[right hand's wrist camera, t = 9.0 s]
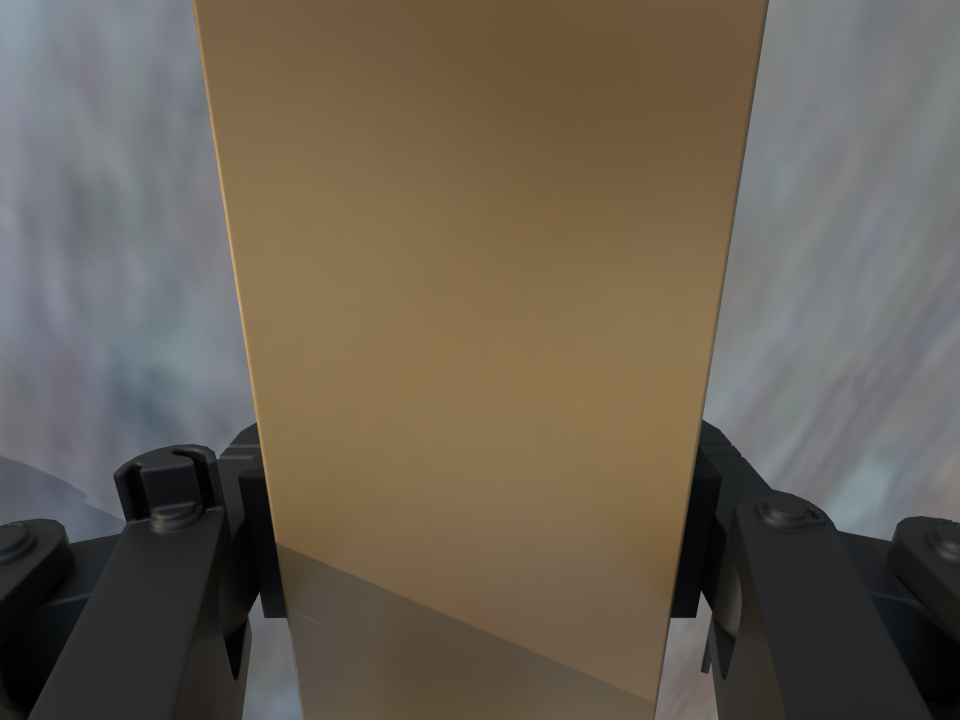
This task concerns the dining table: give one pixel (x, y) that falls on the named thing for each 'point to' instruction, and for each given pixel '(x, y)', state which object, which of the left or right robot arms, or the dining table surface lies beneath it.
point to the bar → (479, 330)
